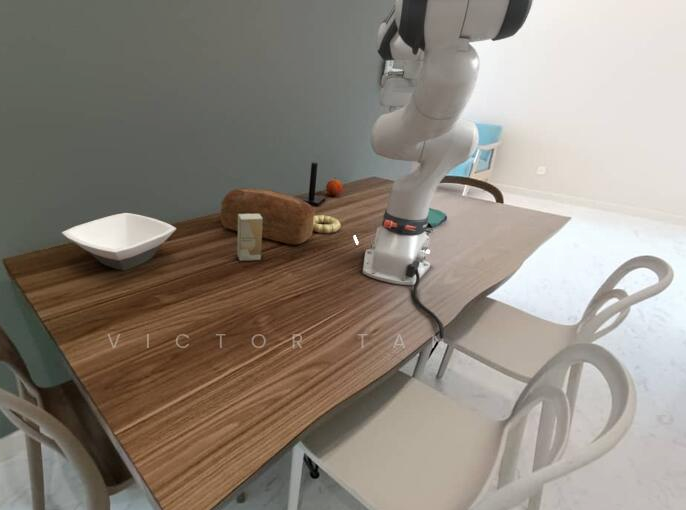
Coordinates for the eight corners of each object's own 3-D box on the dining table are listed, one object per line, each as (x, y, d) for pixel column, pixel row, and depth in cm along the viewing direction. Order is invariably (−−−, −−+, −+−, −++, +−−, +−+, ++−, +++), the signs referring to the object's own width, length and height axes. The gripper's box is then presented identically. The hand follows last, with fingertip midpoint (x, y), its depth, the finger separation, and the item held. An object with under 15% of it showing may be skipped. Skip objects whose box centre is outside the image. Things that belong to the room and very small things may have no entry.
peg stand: (317, 206, 155) (321, 166, 147) (296, 202, 158) (299, 163, 150) (325, 201, 163) (329, 162, 155) (304, 197, 165) (308, 159, 158)
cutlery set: (451, 217, 153) (452, 211, 152) (432, 240, 131) (434, 233, 130) (401, 206, 162) (402, 201, 160) (375, 226, 139) (377, 220, 138)
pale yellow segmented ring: (333, 236, 129) (334, 228, 127) (299, 229, 132) (300, 221, 131) (344, 225, 138) (345, 218, 137) (312, 219, 142) (312, 212, 140)
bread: (302, 250, 118) (305, 206, 111) (216, 229, 128) (214, 188, 121) (317, 237, 127) (321, 196, 120) (236, 219, 138) (235, 180, 131)
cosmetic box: (239, 261, 109) (239, 219, 102) (236, 255, 112) (236, 213, 106) (262, 260, 110) (263, 218, 104) (259, 253, 114) (259, 212, 108)
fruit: (333, 192, 174) (335, 174, 170) (344, 196, 170) (347, 177, 166) (322, 194, 170) (323, 176, 166) (333, 199, 166) (335, 179, 162)
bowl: (186, 255, 110) (184, 227, 106) (118, 288, 93) (112, 255, 88) (131, 237, 119) (127, 210, 115) (60, 263, 102) (52, 232, 97)
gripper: (385, 71, 111) (377, 124, 119) (456, 73, 112) (444, 125, 120) (380, 69, 116) (373, 119, 124) (448, 70, 117) (437, 120, 125)
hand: (408, 122), depth 122 cm, fingers open, 8 cm apart
